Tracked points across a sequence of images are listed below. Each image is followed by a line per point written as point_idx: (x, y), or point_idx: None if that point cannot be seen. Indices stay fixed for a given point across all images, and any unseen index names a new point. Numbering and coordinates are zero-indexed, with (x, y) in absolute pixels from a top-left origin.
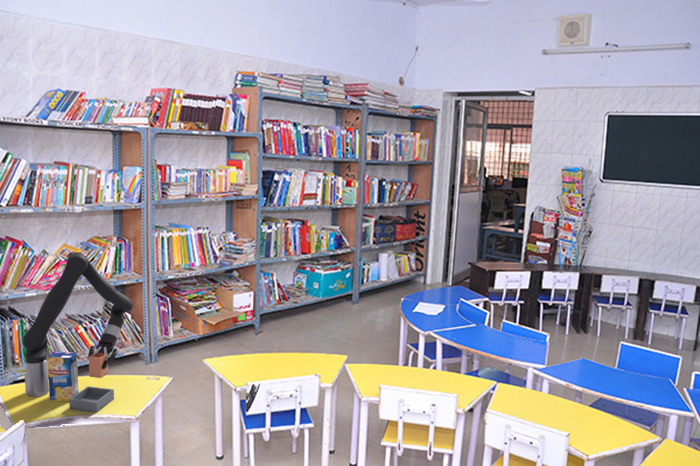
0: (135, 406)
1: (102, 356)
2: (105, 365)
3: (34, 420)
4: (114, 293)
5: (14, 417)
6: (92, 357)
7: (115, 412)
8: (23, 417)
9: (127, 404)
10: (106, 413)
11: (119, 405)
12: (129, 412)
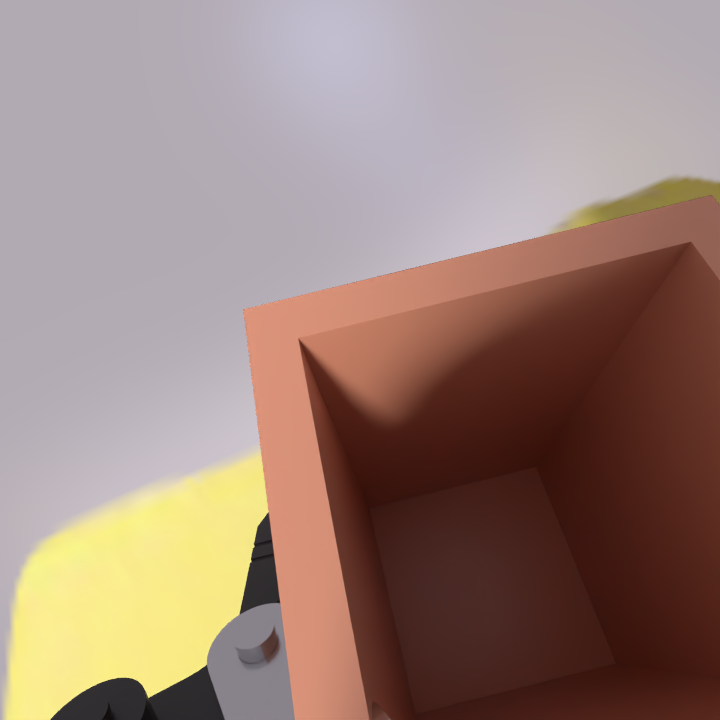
0: (73, 677)
1: (299, 478)
2: (257, 548)
3: (579, 211)
4: None
5: (714, 183)
6: (563, 236)
7: (182, 506)
8: (671, 203)
9: (164, 675)
10: (237, 463)
11: (223, 621)
12: (75, 558)
